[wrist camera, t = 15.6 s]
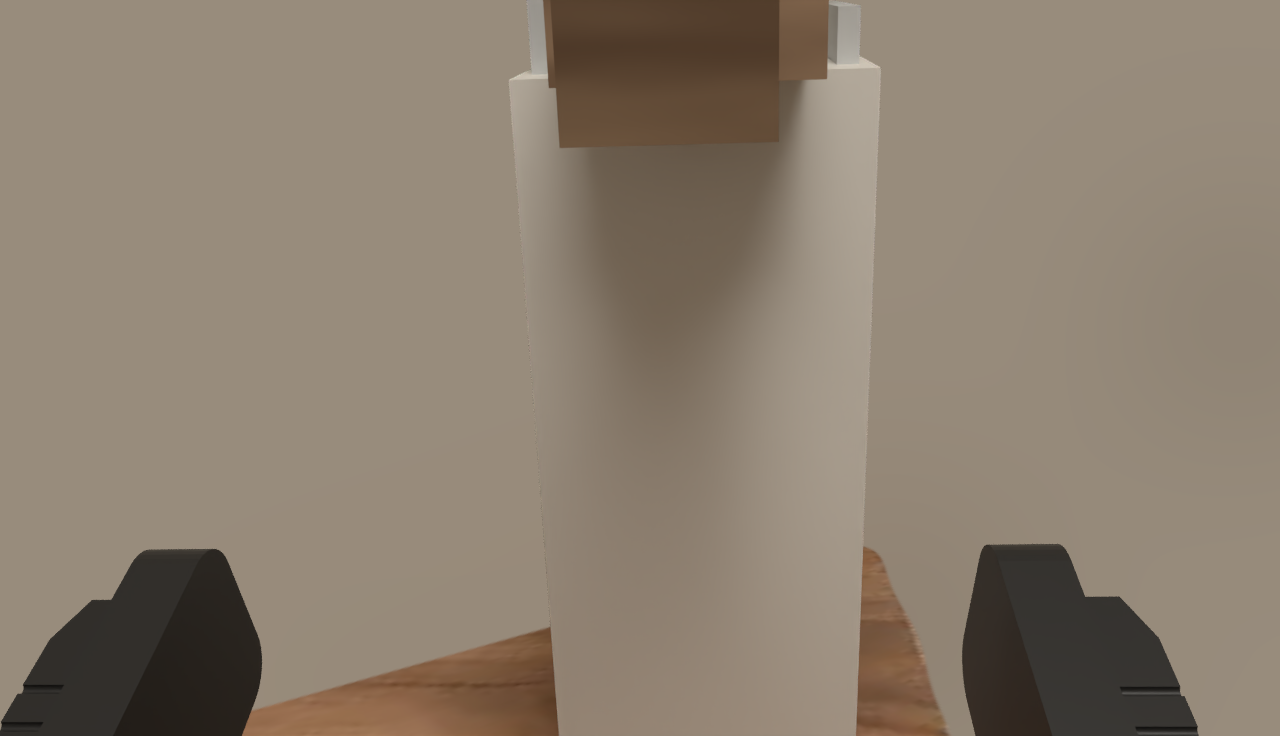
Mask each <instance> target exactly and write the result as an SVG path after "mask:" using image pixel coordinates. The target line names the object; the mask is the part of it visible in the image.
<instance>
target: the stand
mask: <svg viewBox="0 0 1280 736" xmlns="http://www.w3.org/2000/svg"><path fill="white" fill-rule="evenodd" d="M527 12H528V27H529V41H530V55H531V69H530V70H528V71H526V72H524V73H522V74H520V75H518V76H516V77H514V78H512V79H510V80H509V90H510V104H511V116H512V130H513V143H514V156H515V170H516V183H517V195H518V208H519V222H520V234H521V248H522V260H523V272H524V273H523V274H524V287H525V300H526V312H527V326H528V339H529V352H530V364H531V378H532V390H533V404H534V416H535V429H536V443H537V456H538V469H539V482H540V494H541V508H542V521H543V534H544V547H545V560H546V574H547V586H548V600H549V612H550V626H551V639H552V652H553V665H554V678H555V691H556V704H557V717H558V730H559V736H856V718H857V691H858V665H859V638H860V612H861V585H862V558H863V532H864V531H863V530H864V505H865V477H866V451H867V425H868V399H869V372H870V346H871V318H872V293H873V292H872V291H873V264H874V239H875V237H874V236H875V213H876V185H877V159H878V133H879V105H880V80H881V68H880V67H879V66H877V65H875V64H873V63H871V62H870V61H868V60H866V59H864V58H863V57H861V56H859V52H860V20H861V17H860V16H861V6H860V5H855V4H850V3H845V2H840V1H829V17H828V64H827V79H818V80H787V81H779V142H757V143H722V144H686V145H650V146H614V147H578V148H560V147H559V131H558V115H557V99H556V88H549V85H548V70H547V54H546V39H545V23H544V8H543V0H527Z"/></svg>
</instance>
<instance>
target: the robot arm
mask: <svg viewBox="0 0 1280 736" xmlns="http://www.w3.org/2000/svg"><path fill="white" fill-rule="evenodd" d="M962 664H963V678H964V685H965V686H964V687H965V693H966V698H967V702H968V707H969V710H970V715H971V719H972V723H973V727H974V731H975V735H976V736H1198V732H1197V727H1198V726H1197V724H1196V722H1195V719H1194V717H1193V715H1192V712H1191V710H1190V708H1189V706H1188V703H1187V701H1186V699H1185V697H1184V696H1181V694H1180V685H1179V683H1178V681H1177V678H1176V676H1175V674H1174V671H1173V669H1172V667H1171V665H1170V662H1169V660H1168V658H1167V655H1166V653H1165V651H1164V649H1163V646H1162V644H1161V642H1160V639H1159V638H1158V637H1157V636H1156V635H1155V634H1154V632H1153V631H1152V630H1151V629H1150V628H1149V627H1148V626H1147V625H1146V624H1145V623H1144V622H1143V621H1142V620H1141V619H1140V618H1139V617H1138V616H1137V615H1136V614H1135V613H1134V611H1132V609H1131V608H1130V607H1129V606H1128V605H1127V604H1126V603H1125V602H1124V601H1123V600H1122V599H1121V598H1120V597H1085V595H1084V593H1083V590H1082V588H1081V585H1080V582H1079V580H1078V577H1077V574H1076V572H1075V570H1074V567H1073V564H1072V561H1071V559H1070V557H1069V555H1068V553H1067V551H1066V550H1065V548H1064V547H1063V546H1061V545H1059V544H1027V545H1026V544H1025V545H1021V544H1020V545H986V546H984V547H983V549H982V551H981V555H980V559H979V563H978V568H977V573H976V578H975V583H974V588H973V593H972V598H971V603H970V609H969V613H968V618H967V623H966V628H965V633H964V639H963V650H962ZM261 671H262V653H261V646H260V641H259V638H258V635H257V632H256V630H255V627H254V625H253V623H252V620H251V618H250V615H249V613H248V610H247V608H246V606H245V603H244V600H243V598H242V596H241V593H240V591H239V588H238V586H237V583H236V581H235V578H234V576H233V573H232V571H231V568H230V566H229V563H228V561H227V559H226V557H225V556H224V554H223V553H222V552H221V551H219V550H217V549H178V550H177V549H173V550H172V549H171V550H170V549H168V550H146V551H143V552H142V553H140V554H139V555H138V556H137V557H136V558H135V559H134V561H133V562H132V564H131V566H130V568H129V569H128V571H127V573H126V575H125V576H124V579H123V580H122V582H121V584H120V585H119V587H118V589H117V591H116V593H115V594H114V596H113V598H112V600H92V601H91V602H90V603H88V605H86V606H85V607H84V608H83V609H82V610H81V611H80V612H79V613H78V614H77V615H76V616H75V617H74V618H72V619H71V620H70V621H69V622H68V623H67V624H66V625H65V626H64V627H63V628H62V629H61V630H60V631H58V632H57V633H56V634H55V635H54V636H53V637H52V638H51V639H50V640H49V642H48V643H47V645H46V647H45V649H44V650H43V652H42V654H41V655H40V657H39V659H38V660H37V662H36V664H35V666H34V667H33V669H32V670H31V672H30V674H29V676H28V677H27V679H26V681H25V682H24V684H23V686H24V690H23V693H22V694H17V696H16V698H15V699H14V701H13V703H12V704H11V706H10V708H9V709H8V711H7V713H6V714H5V716H4V718H3V719H2V721H1V723H2V727H1V730H0V736H242V734H243V731H244V728H245V726H246V723H247V720H248V718H249V715H250V713H251V710H252V707H253V705H254V702H255V699H256V696H257V693H258V689H259V685H260V679H261Z"/></svg>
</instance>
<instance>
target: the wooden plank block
mask: <svg viewBox="0 0 1280 736" xmlns="http://www.w3.org/2000/svg"><path fill="white" fill-rule="evenodd" d="M543 8H544V23H545V39H546V54H547V70H548V85H549V88H556V99H557V115H558V131H559V147H560V148H578V147H614V146H650V145H686V144H722V143H757V142H779V81H787V80H818V79H827V64H828V17H829V0H543Z"/></svg>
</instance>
